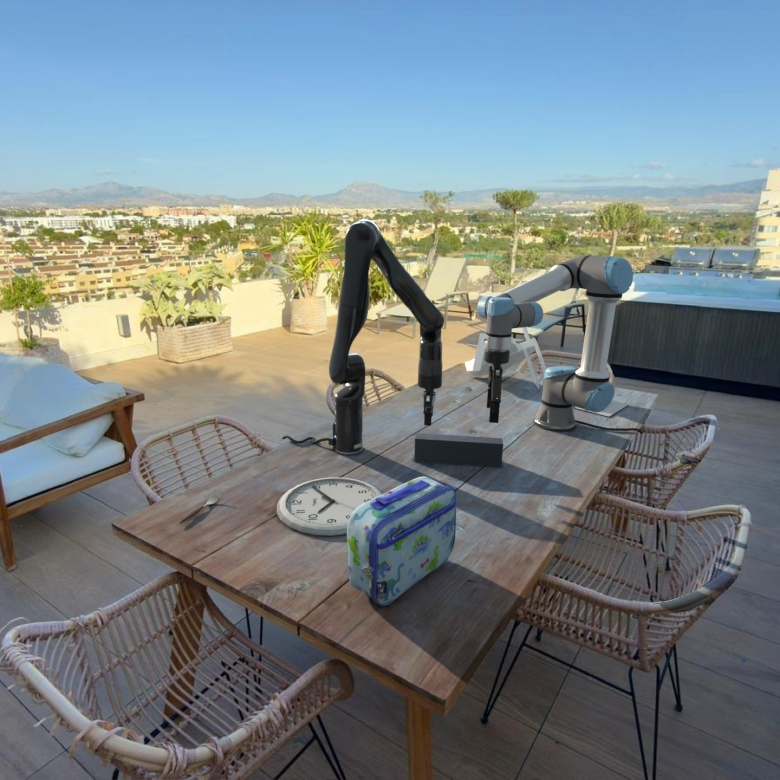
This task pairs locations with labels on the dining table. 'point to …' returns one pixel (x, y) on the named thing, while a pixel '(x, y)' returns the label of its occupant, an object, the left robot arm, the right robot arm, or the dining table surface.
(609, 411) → the invitation card
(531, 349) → the white plastic object
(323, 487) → the wall clock
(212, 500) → the fork
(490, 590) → the dining table surface
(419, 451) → the beam
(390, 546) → the lunch box
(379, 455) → the dining table surface
